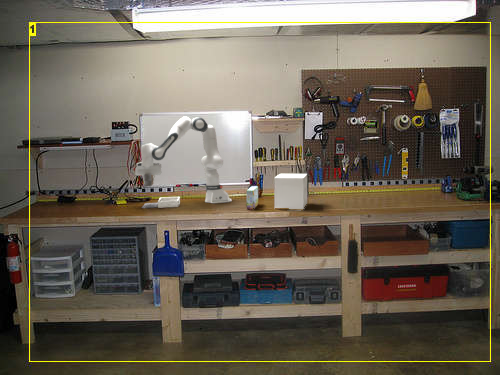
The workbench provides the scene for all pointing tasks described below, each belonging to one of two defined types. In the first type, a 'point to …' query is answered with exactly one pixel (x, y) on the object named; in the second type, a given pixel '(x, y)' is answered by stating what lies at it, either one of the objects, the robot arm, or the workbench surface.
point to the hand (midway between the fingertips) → (148, 180)
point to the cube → (290, 191)
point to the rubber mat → (150, 205)
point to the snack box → (252, 197)
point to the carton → (168, 202)
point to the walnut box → (148, 179)
